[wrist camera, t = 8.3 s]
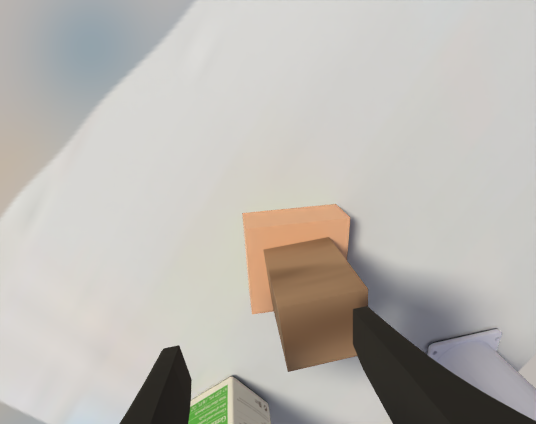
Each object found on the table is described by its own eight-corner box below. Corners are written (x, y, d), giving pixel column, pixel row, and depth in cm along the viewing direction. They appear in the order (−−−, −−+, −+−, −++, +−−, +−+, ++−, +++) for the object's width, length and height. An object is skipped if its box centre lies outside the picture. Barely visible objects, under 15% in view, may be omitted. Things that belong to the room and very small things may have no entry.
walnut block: (331, 290, 20) (367, 353, 15) (271, 302, 20) (288, 371, 15) (328, 236, 18) (368, 288, 13) (263, 249, 18) (278, 308, 13)
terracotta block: (329, 277, 24) (343, 301, 21) (248, 288, 23) (252, 314, 20) (333, 202, 21) (350, 217, 18) (242, 210, 20) (244, 228, 17)
